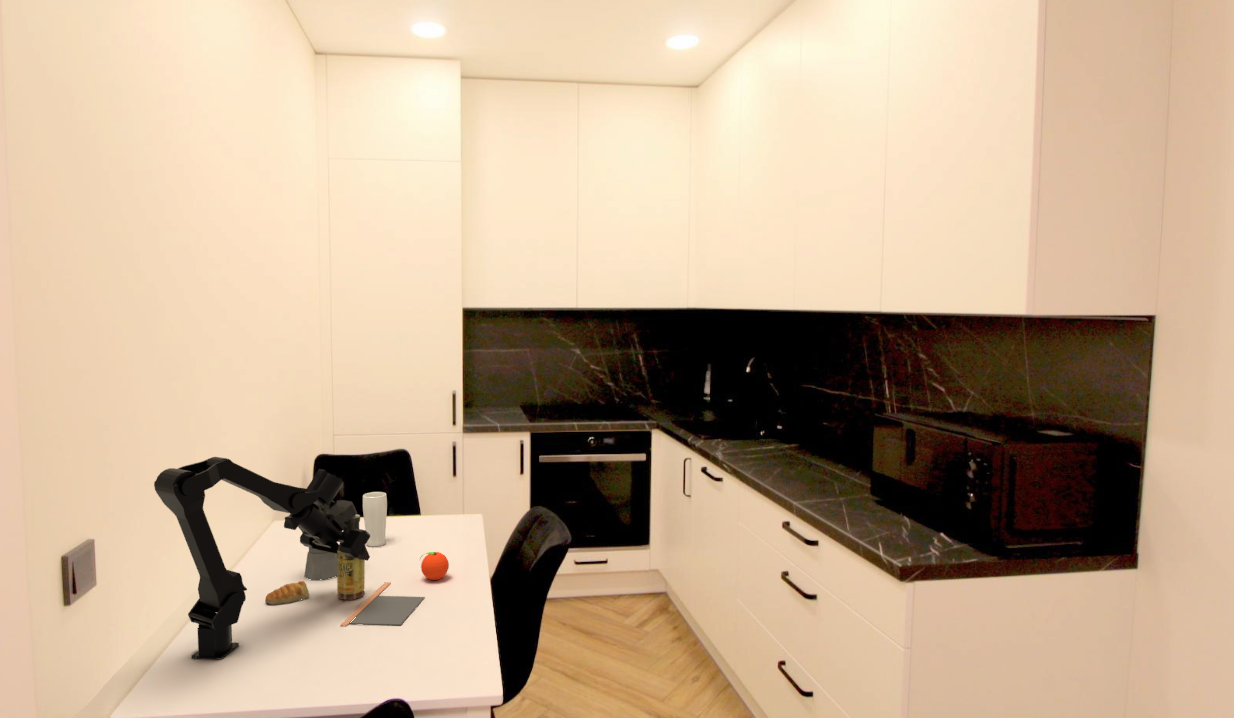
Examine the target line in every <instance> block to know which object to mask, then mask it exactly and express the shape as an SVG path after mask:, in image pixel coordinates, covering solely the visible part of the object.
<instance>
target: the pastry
mask: <svg viewBox="0 0 1234 718" xmlns="http://www.w3.org/2000/svg"><path fill="white" fill-rule="evenodd" d="M309 597H310V591H309V589H308V586H307V583H306V582H305V581H304V580H299V581H298V582H292V583H290V582H289V583H286V584H284V585H282V586H280V587H279V588H276V589H274V590H273V591H271V592H269V593H267V595H266V596H265V599H264V601H265V603H267V604H268V605H272V606H273V605H274V606H275V604H277V605H283V604H282V603H288V604H290V603H289V602H292V603H294V602H293V601H296V602H298V601H297V600H301V599H305V598H307V599H309ZM305 600H306V599H305ZM301 601H302V600H301Z"/></svg>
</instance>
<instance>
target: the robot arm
mask: <svg viewBox="0 0 1234 718" xmlns="http://www.w3.org/2000/svg"><path fill="white" fill-rule="evenodd" d="M220 481H223V482H225V483H227V484H229V485H232V486H234V487H237V488H239V489H241V490H243V491H245V492H247V493H250V494H252V495H255V496H256V497H258V498H259V499H260V500H261V502H262V503H263V504H265V505H266V506H267V507H269V508H270V510H273V511H275V512H276V511H277V512H282V513H286V514H287V513H288V516H285V517H284V523H283V528H284V529H288V530H292V531H295V530H297V528H299V527H300V528H302V529H303V530H304V532H303V533H302V532H301V533H302V534H301V535H300V536H299V543H300V544H301V545H303V547H307V548H309V547H310V548H313V549H317V550H322V551H326V552H331V553H336V554H337V550H338V547H339V544H340V542H341V543H342V545H341V552H342V553H343V554H344V555H346V556H347V557H351V558H356V559H361V560H365V561H367V562H368V561H369V560H370V553H369V551H368V549H367V547H366V546H367V544H366V543H367V541H368V540H369V538H370V534H369V533H368V532H367V531H366V530H365V529H360V528H359V529H357V528H355V529H351V530H350V532H349V533H346V532H343V530H345V528H346V527H347V525H346V524H345V523H346V522H347V521H348V520H350V519H351V518H352V517H353V516H355V515H356V514H358V512H357V510H356V506H355V505H354V503H353V501H351V500H350V501H349V500H346V499H345V500H343V499H340V500H336V501H334V499H335V497H336V496H337V494H338V493H339V491H340V490H341V488H342V487H343V485H344V481H343V480H342V479H341V478H340V477H337V476H335V475H334V474H332V473H329V472H328V471H326V470H325V469H320V468H319V469H318V470H317V471H316V472H315V474H314V477H313V478H312V480H311V481H310V483H309V484H308V486H307V487H306V488H304V487H298V486H294V485H290V484H284V483H279V482H277V481H273V480H270V479H269V478H266V477H264V476H263V475H260V474H258V473H256V472H254V471H252V470H251V469H247V467H246V468H245V467H243V466H241V465H239V464H237V463H236V462H234V461H232V460H231V459H230V458H227V457H226V458H225V457H219V456H212V457H209V458H207V459H205V460H201V461H198V462H194V463H191V464H187V465H183V466H180V467H177V468H174V467H172V468H166V469H164V470H162V471H161V472H160V473H159V474H158V476H157V477H156V479H155V481H154V482H153V486H154V491H155V492H156V494H157V496H158V497H159V498H160V500H161V502H162V503H163V504H164V506H166V507H167V508H168V509H169V510H170V512H171V513H172V514H174V516H175V517H176V519H177V521H178V524H179V527H180V529H181V532H182V534H183V536H184V540H185V541H186V545H187V547H188V549H189V552H190V555H191V557H192V559H193V562H194V565H195V567H196V569H197V572H198V576H199V581H198V586H197V591H198V597H199V598H198V600H196V602H195V604H193V606H192V607H191V609H190V611H189V612H188V614H187V616H188V618H189V620H190V622H191V623H195V624H197V625H198V627H197V646H198V649H197V651H195V652H194V653H193V654H191V655H190V656H191V657H190V658H191V659H200V660H201V659H202V660H203V659H205V660H206V659H207V660H209V659H210V660H221V659H224V658H225V657H227V655H229V654H230V653H232V652H233V651H234V650H235V649H236V648H238V647H239V646H240V642H233V629H232V628H233V627H232V625H234V624H237V623H238V622H239V618H240V614H241V611H242V607H243V606H244V605H243V604H244V602H245V601H246V597H247V596H246V592H245V591H247V590H248V588H247V587H246V586H245V585H244V583H243V576H242V575H241V573H240V572H237V571H233V570H229V569H227V568H226V566H225V563H224V561H223V558H222V555H221V552H220V551H219V547H218V544H217V542H216V539H215V537H214V534H213V531H212V529H211V526H210V524H209V521H208V517H207V516H206V513H205V511H204V503H205V498H206V492H205V491H207V490H209V489H211V488H213V487H215V485H217V484H218V483H219V482H220ZM319 507H324V512H323V511H322V510H321V509H320V508H319ZM298 526H299V527H298Z"/></svg>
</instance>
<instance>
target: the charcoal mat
mask: <svg viewBox="0 0 1234 718" xmlns="http://www.w3.org/2000/svg"><path fill="white" fill-rule="evenodd" d="M424 599H425V596H405V595H404V596H401V595H400V596H399V595H397V596H396V595H379V596H377V597H376V598H375V599H374V600H373V601H372V602H371V603H370V604H369V605H368V606H367V607H366V608H365V609H364V610H363V611H362V612H361V613H360V614H359V615H358V616H357V617H356V618H355V619H354V620H353V621H352V622H351V623H350V624H349V625H351V624H363V625H364V626H390V625H391V627H392V626H394V625H396V626H394V627H397V626H399V627H401V626H402V625H403V624H404V623H405V622H404V621H407V619H408V618H409V617H410V616H411V615H412V613H413V612H414V611H415V610H416V609H417V608H418V606H419V605H421V603H422V602H423V601H424ZM416 607H417V608H416ZM415 608H416V609H415ZM410 614H411V615H410ZM409 615H410V616H409Z"/></svg>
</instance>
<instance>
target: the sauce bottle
mask: <svg viewBox="0 0 1234 718" xmlns="http://www.w3.org/2000/svg"><path fill="white" fill-rule="evenodd" d="M360 521H361V515H360V514H358V513H357V514H356V515H355V516H353V517H352V518H351V519H350V520H348V521H347V522H346V523H345V524H346V525H347V527H346V528H345V530H343V531H342V532H346V533H349V532H350V530H351V529H355V528H357V529H360ZM338 544H339V547H338V550H337V579H336V580H337V581H336V583H337V585H336V587H337V588H336V590H337V597H338V598H339V599H340V600H343V599H344V600H346V601H353V600H356V599H359V598H361V597H363V596H364V595H365V583H366V582H365V580H366V579H365V575H366V572H365V569H366V568H365V561H366V560H361V559H356V558H351V557H347V556H346V555H344V554H343V553H342V552H341V545H342V543H341V542H339V543H338Z"/></svg>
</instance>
